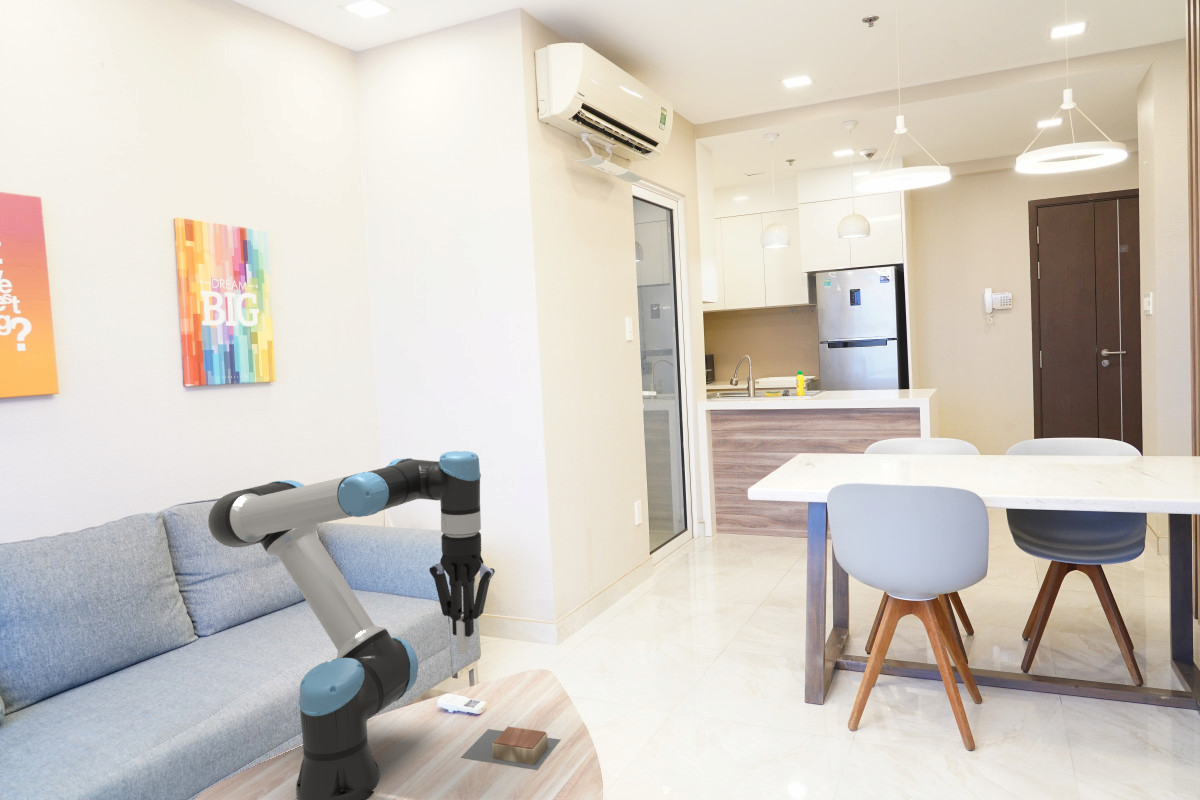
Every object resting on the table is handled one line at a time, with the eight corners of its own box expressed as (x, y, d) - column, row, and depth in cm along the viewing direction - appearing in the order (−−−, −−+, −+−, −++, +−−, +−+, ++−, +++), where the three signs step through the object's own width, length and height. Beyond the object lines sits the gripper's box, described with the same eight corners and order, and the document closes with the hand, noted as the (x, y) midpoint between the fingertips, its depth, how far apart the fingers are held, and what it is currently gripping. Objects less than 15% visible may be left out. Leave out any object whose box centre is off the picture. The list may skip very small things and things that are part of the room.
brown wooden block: (492, 742, 155) (533, 748, 152) (507, 725, 162) (547, 731, 159) (492, 758, 156) (533, 764, 153) (508, 741, 162) (547, 746, 159)
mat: (460, 760, 156) (460, 757, 156) (488, 731, 168) (488, 728, 168) (537, 772, 151) (537, 770, 151) (560, 742, 162) (560, 739, 162)
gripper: (500, 529, 150) (502, 647, 152) (439, 525, 154) (441, 640, 156) (484, 539, 143) (486, 662, 145) (421, 535, 147) (423, 655, 149)
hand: (463, 651), depth 151 cm, fingers closed
